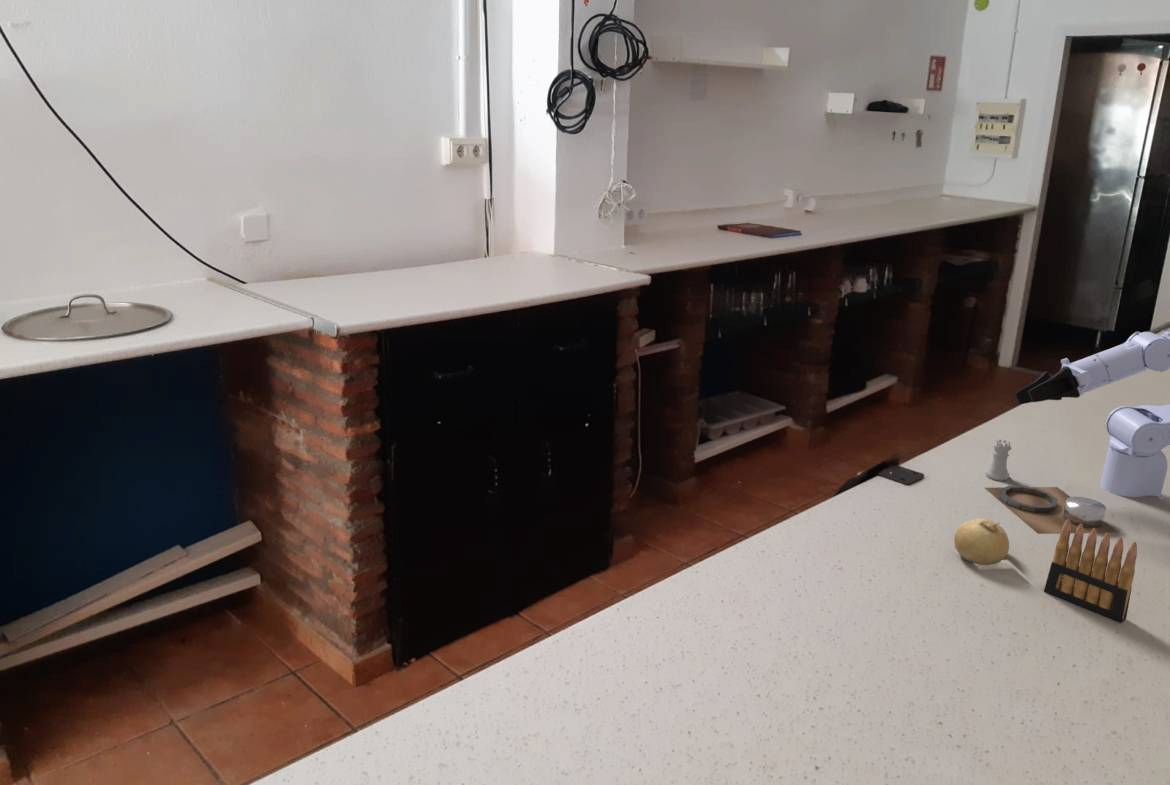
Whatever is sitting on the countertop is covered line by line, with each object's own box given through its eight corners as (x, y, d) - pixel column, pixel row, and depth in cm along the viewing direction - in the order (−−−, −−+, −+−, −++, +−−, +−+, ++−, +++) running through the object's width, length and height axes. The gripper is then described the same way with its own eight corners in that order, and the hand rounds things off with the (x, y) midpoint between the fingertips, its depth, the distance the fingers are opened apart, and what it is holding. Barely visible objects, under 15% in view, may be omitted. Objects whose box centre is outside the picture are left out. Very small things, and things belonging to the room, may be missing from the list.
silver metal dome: (1088, 512, 159) (1092, 496, 158) (1110, 528, 153) (1113, 511, 152) (1055, 512, 158) (1058, 496, 157) (1075, 528, 153) (1079, 512, 152)
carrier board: (1056, 491, 169) (1057, 486, 169) (1117, 537, 152) (1118, 532, 152) (983, 492, 168) (984, 487, 168) (1036, 538, 151) (1037, 533, 151)
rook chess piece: (1004, 477, 175) (1011, 438, 172) (1011, 487, 171) (1019, 447, 168) (979, 475, 175) (986, 436, 173) (987, 485, 171) (994, 445, 169)
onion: (943, 558, 144) (950, 517, 142) (963, 541, 150) (970, 502, 147) (995, 576, 139) (1003, 534, 137) (1013, 558, 144) (1021, 518, 142)
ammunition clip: (1126, 619, 128) (1145, 542, 125) (1121, 623, 127) (1139, 546, 123) (1048, 588, 136) (1064, 514, 132) (1043, 592, 135) (1058, 518, 131)
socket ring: (1038, 490, 167) (1039, 485, 167) (1067, 512, 158) (1068, 507, 158) (990, 490, 166) (991, 485, 166) (1016, 513, 158) (1017, 507, 157)
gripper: (1075, 353, 169) (1002, 379, 171) (1106, 344, 155) (1027, 374, 157) (1090, 388, 168) (1018, 415, 170) (1124, 383, 154) (1044, 412, 156)
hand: (1023, 397), depth 163 cm, fingers open, 7 cm apart
